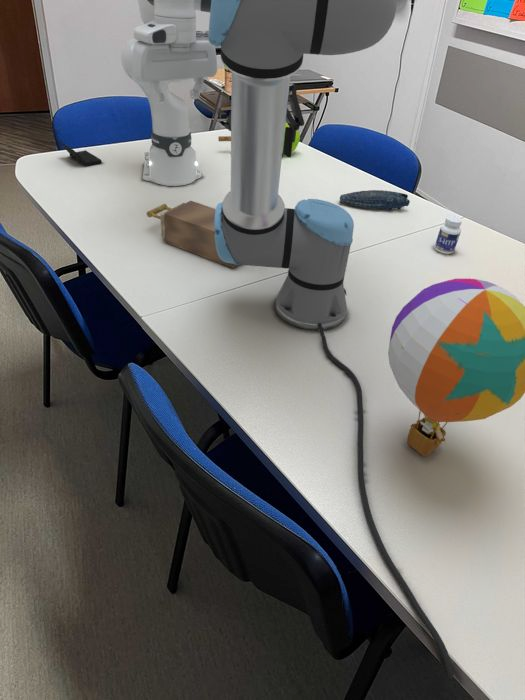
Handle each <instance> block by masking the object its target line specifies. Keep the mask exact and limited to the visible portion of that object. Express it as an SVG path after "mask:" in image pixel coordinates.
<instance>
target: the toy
mask: <svg viewBox="0 0 525 700" xmlns="http://www.w3.org/2000/svg"><path fill="white" fill-rule="evenodd" d="M387 355H388V365H389V367H390V369H391V372H392V375H393V377H394V379H395V381H396V383H397V385H398V388H399V389H400V391H401V392H402V393H403V394H404V396H405V397H406V398H407V399H408V400H409V401H410V403H412V405H413V406H415V407H416V408H417V409H418V410H419V411H418V418H417V420H416V423H411V424H410V429H409V431H408V434H407V439H406V443H407V445H408V446H409V447H410V448H412V449H413V450H414V451H416V452H417V453H418V454H420V455H421V456H422V457H424V458H426V457H428V456H429V455H430V454H431V453H433V452H434V451H435V450H437V449H438V448H439V447H440V446H441V444H442V443H443V442H445V441H446V434H447V432H446V430H445V427H446V425H447V424H448V423H461V422H472V421H479V420H486V419H488V418H489V417H492V416H494V415H496V414H498V413H501V412H503V411H505V410H508V409H509V408H511V407H513V406H514V405H515V404H516V403H518V402H519V401H520V400H521V399H522V397H523V396H524V395H525V305H524V304H523V303H522V301H521V300H520V299H519V298H518V297H517V296H516V295H515V294H513V293H511V292H510V291H508V290H507V289H505V288H503V287H502V286H500V285H498V284H495V283H492V282H491V281H487V280H482V279H477V278H452V279H448V280H445V281H441V282H437V283H435V284H431V285H429V286H428V287H426V288H423V289H421V291H420V292H419V293H417V294H416V295H415V296H414V297H413V298H411V300H409V302H407V303H406V304H405V305H404V306H403V307H402V309H401V310H400V311H399V313H398V314H397V315H396V317H395V319H394V321H393V324H392V326H391V333H390V337H389V344H388V351H387ZM421 414H423V418H422V419H420V418H421ZM440 423H444V425H443V426H442V427H441V424H440Z"/></svg>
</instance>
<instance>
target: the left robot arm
mask: <svg viewBox="0 0 525 700" xmlns="http://www.w3.org/2000/svg"><path fill="white" fill-rule="evenodd" d="M211 1H212V0H137V3H138V8H139V14H140V18H141V21H142V22H143V24H142V25H139V26H137V27H135V28H134V29H133V37H134V38H132V39H127V41H126V42H125V43H124V45H123V47H122V49H121V65H122V67H123V70H124V72H125V73H126V75H127V76H128V77H129V78H130V79H131V80H132V81H133V82H135V83H136V84H137V85H138V86H139V87H140V88H141V90H142V91H143V92H144V94H145V97H146V98H147V101H148V104H149V107H150V114H151V125H152V129H151V130H150V133H151V135H150V139H151V145H150V148H149V152H144V163H143V171H142V172H143V173H142V180H144V181H147V182H152V183H155V184H157V185H161V186H168V187H178V186H181V187H182V186H187V185H189V184H192V183H194V182H195V181H196V180H199V179H201V178H202V177H203V174H202V172H201V171H199V170H198V166H199V163H198V162H197V152H196V150H195V149H194V147H192V133H191V131H190V106H189V104H188V102H187V101H186V100H185V99H184V98H183V97H180V96H179V95H177V94H176V93H174V92H172V91H170V88H169V84H170V83H194V85H193V88H192V89H189V97H190V99H192V100H198V99H200V91H201V89H202V87H203V85H204V81H205V80H207V79H208V78H214V77H215V76H216V75H217V73H218V61H217V60H218V59H217V51H216V48H217V47H215V45H212V44H211V43H210V42H209V30H197V14H196V11H200V12H204V13H210V10H211Z"/></svg>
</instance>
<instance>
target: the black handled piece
mask: <svg viewBox="0 0 525 700" xmlns="http://www.w3.org/2000/svg"><path fill="white" fill-rule="evenodd" d="M57 142H58V143H59V144H60V146H61V147H62V148H63V149H65V150H66V152H67V153H68V154H69V157H71V158H72V159H74V160H76V161H77V162H79V163H80V164H81V165H83V166H85V167H87V166H92V165H98V164H102V162H103V161H102V159H101V158H99V157H98V156H96V155H94V154H92V153H90V151H88V150H86V149H85V150H81V151H75V150H74V149H73V148H71V147H70V146H68V145H67V144H65V143H63V142H62V141H60V140H57Z"/></svg>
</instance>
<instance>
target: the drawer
mask: <svg viewBox="0 0 525 700" xmlns="http://www.w3.org/2000/svg"><path fill="white" fill-rule="evenodd" d="M185 203H186V202H182V203H180V204H178V205H176V206H174V207H169V206H168V204H167V203H163V204H161V205H158V206H156V207H154V208H152V209H150V210H148V211H146V216H147V217H148V218H156V219H158V220H160V231H161V232H160V233H161V237H162V238H164V239H166V238H165V216H164V213H166V212H168V211H170V210H172V209H175V208H177V207H179V206H181V205H183V204H185ZM159 214H160V215H159Z"/></svg>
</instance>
